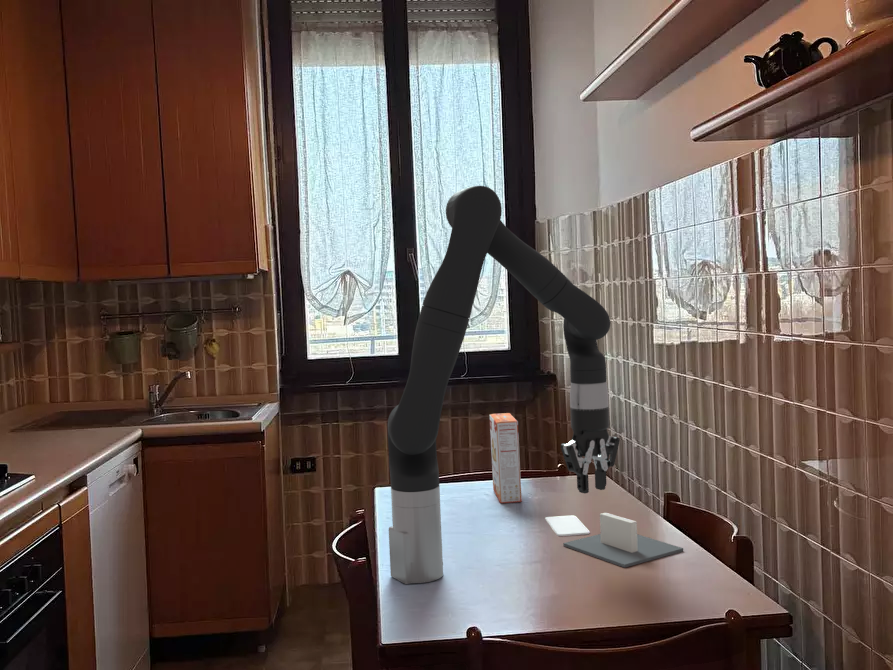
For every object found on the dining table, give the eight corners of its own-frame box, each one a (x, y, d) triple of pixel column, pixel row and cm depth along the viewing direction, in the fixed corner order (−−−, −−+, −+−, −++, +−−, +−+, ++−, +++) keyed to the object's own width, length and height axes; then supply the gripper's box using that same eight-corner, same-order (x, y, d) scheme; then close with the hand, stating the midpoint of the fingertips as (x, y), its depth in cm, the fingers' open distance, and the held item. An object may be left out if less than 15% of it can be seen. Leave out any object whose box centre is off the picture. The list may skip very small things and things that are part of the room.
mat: (624, 567, 163) (624, 564, 163) (563, 545, 179) (563, 543, 179) (683, 551, 172) (683, 548, 172) (620, 531, 187) (620, 528, 187)
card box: (631, 552, 170) (630, 522, 170) (600, 542, 178) (599, 513, 178) (637, 551, 171) (637, 521, 171) (606, 540, 179) (606, 512, 179)
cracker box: (491, 491, 229) (488, 413, 228) (514, 489, 230) (511, 412, 229) (498, 504, 216) (495, 421, 214) (522, 502, 216) (519, 420, 215)
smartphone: (575, 515, 201) (590, 532, 186) (575, 518, 201) (591, 535, 186) (544, 517, 201) (557, 534, 186) (544, 520, 201) (557, 538, 186)
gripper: (574, 410, 163) (577, 500, 164) (629, 402, 170) (631, 488, 171) (549, 407, 169) (552, 493, 170) (603, 399, 177) (605, 482, 178)
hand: (592, 490), depth 171 cm, fingers open, 3 cm apart
